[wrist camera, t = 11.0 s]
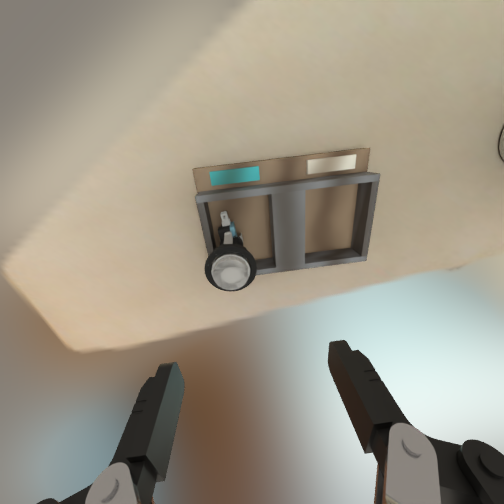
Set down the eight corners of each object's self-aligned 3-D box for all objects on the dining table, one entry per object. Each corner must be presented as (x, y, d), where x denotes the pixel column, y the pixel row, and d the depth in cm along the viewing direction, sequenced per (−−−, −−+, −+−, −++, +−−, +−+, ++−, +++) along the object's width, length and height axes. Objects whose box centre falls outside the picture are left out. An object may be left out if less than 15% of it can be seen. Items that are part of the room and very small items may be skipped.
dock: (363, 148, 27) (386, 147, 23) (351, 251, 34) (367, 264, 29) (194, 168, 26) (187, 171, 22) (216, 268, 33) (213, 284, 29)
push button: (204, 214, 28) (191, 245, 19) (243, 206, 28) (248, 232, 19) (218, 257, 31) (212, 301, 22) (253, 249, 30) (262, 290, 22)
